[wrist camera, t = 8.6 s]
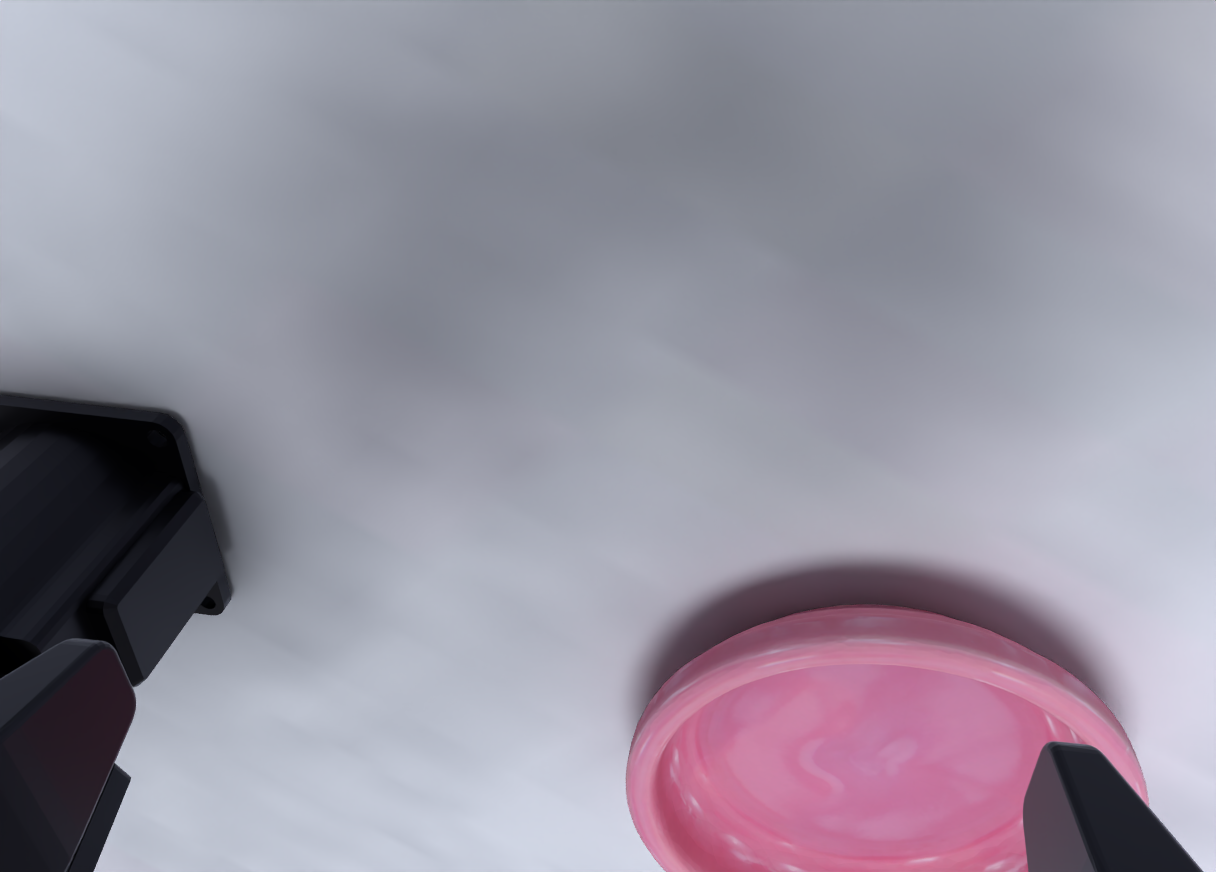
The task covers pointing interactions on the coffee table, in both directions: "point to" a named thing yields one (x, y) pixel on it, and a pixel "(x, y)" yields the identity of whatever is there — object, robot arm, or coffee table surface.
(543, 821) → the coffee table surface
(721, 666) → the saucer
